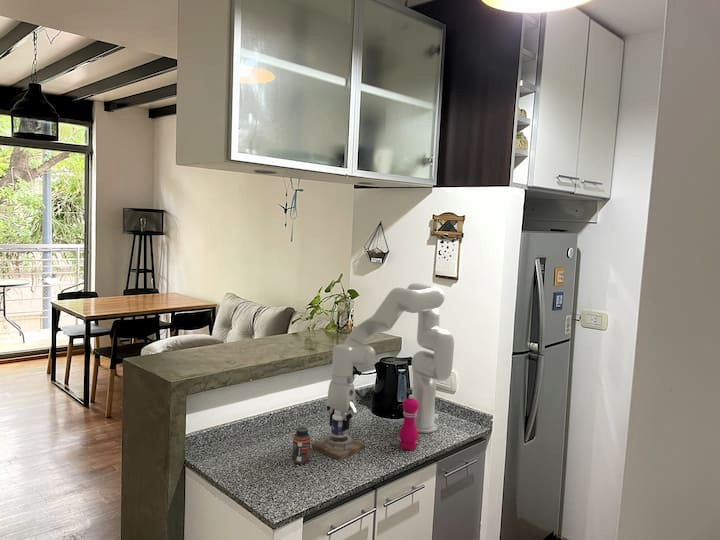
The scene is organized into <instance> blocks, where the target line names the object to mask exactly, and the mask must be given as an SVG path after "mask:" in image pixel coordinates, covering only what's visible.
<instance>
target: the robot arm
mask: <svg viewBox="0 0 720 540" xmlns="http://www.w3.org/2000/svg"><path fill="white" fill-rule="evenodd" d="M445 298H446V297H445V292H444V291H443V289H441V288H440V287H439V286H435V285H431V284H430V285H429V284H424V283H419V282H414V283H413V282H412V283H410V284H409V285H408V286H407V288H403V287H395V288H393V289H391V290H390V291H389V293H388V294H387V295H386V296H385V298H384V299H383V301H382V302H381V304H380V305H379V307H377V309H376V311H375V312H374V314H373V315H372V316H371V317H369V318H367V319H366V320H364V321H362V322H360V324H358V325H356V326H355V327H354V328H353V330H351V332H350V333H349V334H348V335H347V337H346V339H345V340H344V341H343V343H339V344H336V345H334V346H333V348H332V363H331V378H330V379H331V380H330V383H329V384H328V385H329V386H328V392H327V398H326V400H325V401H324V405H325V407H326V409H327V411H328V415H329V427H332V416H333V414H335V413H334V410H335V409H336V410H339V411H341V412H343V417H344V420H343V421H342V431H345V430H346V431H347V430H349V429H350V423H351V422H350V420H351V419H352V418H354V416H355V415H357V414H358V412H357V409H356V390H355V385H354V382H355V379H354V378H353V375H354V374H353V373H354V372H353V371H354V365H355V366H357V365H358V366H367V365H370V364H371V363H373V362H374V360H375V358H376V350H375V348H373V346H371V345H369V344H366V343H365V341H367V339H369V338H370V337H371V336H372V337H373V335H377V334H381V333H385V332H388V331H390V330H391V329H393V327H394V325H395V324H396V323H397V321H398V320H399V318H400V317H401V316H402V314H403V313H404V312H406V313H410V314H417V319H418V320H417V331H416V333H417V334H416V341H417V345H418V346H420V347H421V348H424V349H425V350H420V351H417V352H415V353H414V354H413V356H412V358H411V371H412V372H411V373H412V389H411V391H412V392H411V393H412V394H411V395H413V399H415V400H416V401H417V402H418V405H419V407H418V410H417V411H416V412H417V414H416V415H417V416H416V417H415V426H416V428H417V431H418V433H421V434H423V433H424V434H426V433H427V434H428V433H429V434H431V433H434V432H436V431H437V430H438V425H437V424H436V423H435V420H436V419H438V418H439V414H438V413H435V409H436V408H435V406H436V393H437V383H436V381H439V382H444V381H446V380H448V379H449V378H450V376H451V374H452V370H453V364H454V363H453V362H454V349H455V341H454V337H453V334H452V333H451V332H450V331H448V330H447V329H445V328H440V311H439V310H440V309H439V308H440V307H441V306H442V305H443V304H444V301H445ZM427 350H428V351H427ZM430 351H431V352H430Z"/></svg>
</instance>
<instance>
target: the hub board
mask: <svg viewBox="0 0 720 540" xmlns="http://www.w3.org/2000/svg"><path fill="white" fill-rule="evenodd" d="M310 449H313V450H316V451H318V452H320V453H322V454H324V455H327V456H330V457H332V458H333V459H335V460H339V461H341V460H343V459H345V458H348V457H350V456H352V455H354V454H356V453H358V452H360V451H363V450H366V443H365V444H364V443H363V442H360V441H358V440H356V439H355V440H354V439H353V437H352V435H350V434H347V433H346V436H344V437H340V438H338V437H334V436H332V434H331V433H329V434H326V435H325V436H324V438H322V439H320V440H317V441H315V442H312V443H310Z"/></svg>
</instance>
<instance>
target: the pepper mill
mask: <svg viewBox="0 0 720 540" xmlns="http://www.w3.org/2000/svg"><path fill="white" fill-rule="evenodd" d="M401 405H402V407H401V408H402V409H403V411H402V414H403V418H404V419H403V423H402V426H401V427H400V430H399V432H398V437H399V439H400V440H399V448H400V449H403V450H405V451H413V450H416V448H417V440H418V439H419V432H418V431H417V428H416V426H415V417H416V416H417V415H416V414H417V412H416V411H417V410H418V407H419V405H418V402H417V401H416V400H415V399H413V395H412V394H409V395H408V398H406V399H404V400H403V402H402V404H401Z"/></svg>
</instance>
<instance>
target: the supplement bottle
mask: <svg viewBox="0 0 720 540" xmlns="http://www.w3.org/2000/svg"><path fill="white" fill-rule="evenodd" d="M291 451H292V455H291V456H292V457H291V460H292V462H294V463H295V464H298V465H304V464H307V463H308V462H309V461H310V454H311V453H310V452H311V435H310V434H309V428H308V427H306V426H299V427H297V428H296V431H295V434H293V436H292V450H291Z"/></svg>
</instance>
